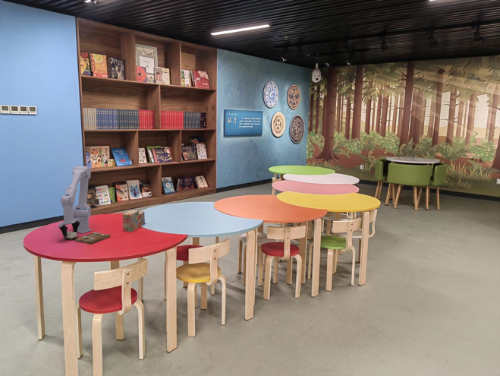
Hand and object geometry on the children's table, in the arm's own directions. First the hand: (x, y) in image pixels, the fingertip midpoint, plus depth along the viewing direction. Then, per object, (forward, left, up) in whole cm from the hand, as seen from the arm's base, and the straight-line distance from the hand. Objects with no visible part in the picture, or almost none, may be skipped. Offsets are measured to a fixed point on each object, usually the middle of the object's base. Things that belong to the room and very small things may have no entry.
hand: (70, 235), depth 240 cm
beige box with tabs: (0, 0, -3) cm, 3 cm away
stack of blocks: (+18, +39, -3) cm, 43 cm away
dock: (+13, +6, -3) cm, 15 cm away
